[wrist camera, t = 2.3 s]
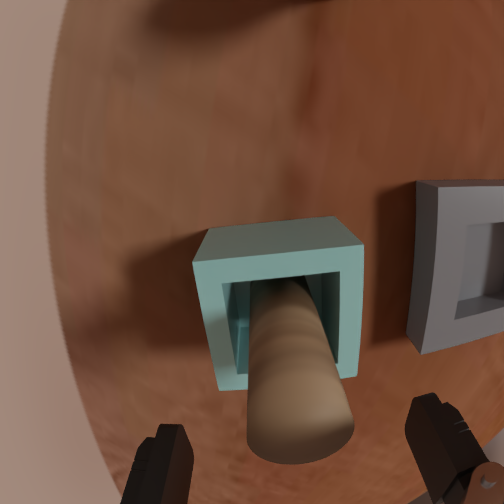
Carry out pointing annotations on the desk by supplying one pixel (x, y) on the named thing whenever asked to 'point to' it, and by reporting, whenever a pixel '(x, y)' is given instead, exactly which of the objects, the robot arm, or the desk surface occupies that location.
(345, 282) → the mint green open box
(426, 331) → the stand
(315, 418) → the dowel
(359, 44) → the desk surface
